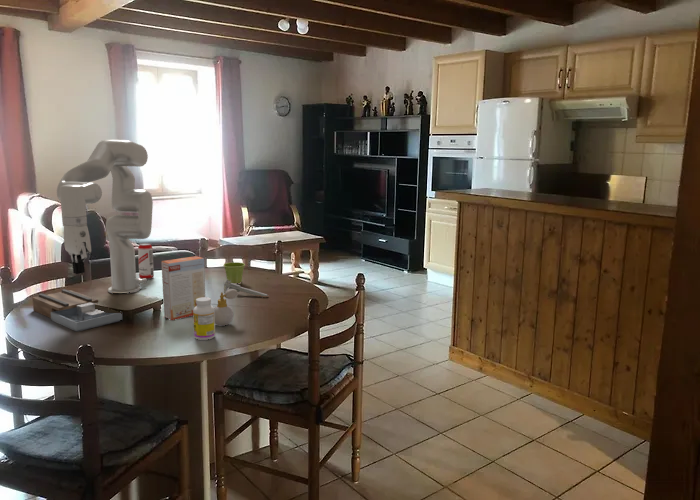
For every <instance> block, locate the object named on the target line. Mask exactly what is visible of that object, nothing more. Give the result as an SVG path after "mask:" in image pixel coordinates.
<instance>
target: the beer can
mask: <svg viewBox="0 0 700 500" xmlns="http://www.w3.org/2000/svg"><path fill="white" fill-rule="evenodd" d="M138 244H139V245H138V247H137V255H138V256H137V257H138V260H137V261H138V276H139V278H140V279H144V278H146V279H147V281H148V280H152V279H153V278H154V275H155V273H154V272H155V271H154V253H153V246H152V243H150V242H149V243H148V242H142V243H138Z"/></svg>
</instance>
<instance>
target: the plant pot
mask: <svg viewBox="0 0 700 500" xmlns="http://www.w3.org/2000/svg"><path fill="white" fill-rule="evenodd" d="M222 265H223V267H224V271H225V275H226V281H227V280H229V281H230V280H231V282H230V283H233V284H234V283H240V282H243V275H244V273H243V272H244V269H245V267H246V264H245V263H244V262H240V261H239V262H237V261H236V262H235V261H233V262H226V263H223V264H222Z"/></svg>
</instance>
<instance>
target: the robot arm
mask: <svg viewBox="0 0 700 500" xmlns="http://www.w3.org/2000/svg"><path fill="white" fill-rule="evenodd" d="M148 157H149V156H148V152H147V149H146V148H145V146H143V145H141V144H138V143H136V142H134V141H131V140H127V139H104V140H101V141H99V142H98V143H97V144H96V145H95V148H94V149H93V150H92V152H91V154H90V155H89V157H88V159H87V161H85V162H82V163H80V164H79V165H76V166H75V167H73V168H71V169H70V170H67V171H66V172H65V173H64V174H63V176H62V178H61V179H60V180H59V183H58V185H57V187H56V197H57V199H58V200H59V201H60V210H61V220H62V223H61V224H62V227H63V245H64V249H65V251H66V252H67V253H68V255H69V256H70V259H71V263H72V272H73V274H75V275H80V274H85V272H86V271H85V259H87V258H88V254H92V244H91V236H90V232H89V228H88V220H87V219H88V218H87V206H86V205H87V204H89V205H90V204H96V203H98V202H99V201H100V200H101V198H102V195H103V191H102V187H101V186H100V185H99V184H97V183H96V182H95V181H99V180H102V179H104V178H106V177H108V176H109V174H110V173H111V177H112V184H111V185H112V186H111V187H112V188H111V207H112V209H113V211H115V212H119V213H134V214H135V213H137V214H138V215H130V214H129V215H127V214H122V215H120V214H118V215H117V214H116V215H112V216H110V217H108V218H107V220H106V222H105V231H106V233H107V239H108V244H109V261H110V277H111V286H110V287H108V288H107V291H108V293H110V294H113V293H112V292H130V293H129V294H132V293H137V292H139V291H140V290H141V286H140V285H141V284H146V283H148V280H147V279H146V278H144V279H141V278H140V277H139V278H137V274H136V273H137V271H136V269H137V268H136V251H135V247H134V244H133V243H132V241H131V240H145V239H148V238H149V237H150V236H151V234H152V224H153V223H152V222H153V206H154V205H153V203H154V202H153V197H152V194H151V193H150V192H149V190H145V189H135V184H136V178H135V175H134V174H133V173H132V171H131V169H130V168H129V167H137V168H138V167H139V168H141V167H143V166H145V165H146V164H147V162H148Z"/></svg>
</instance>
